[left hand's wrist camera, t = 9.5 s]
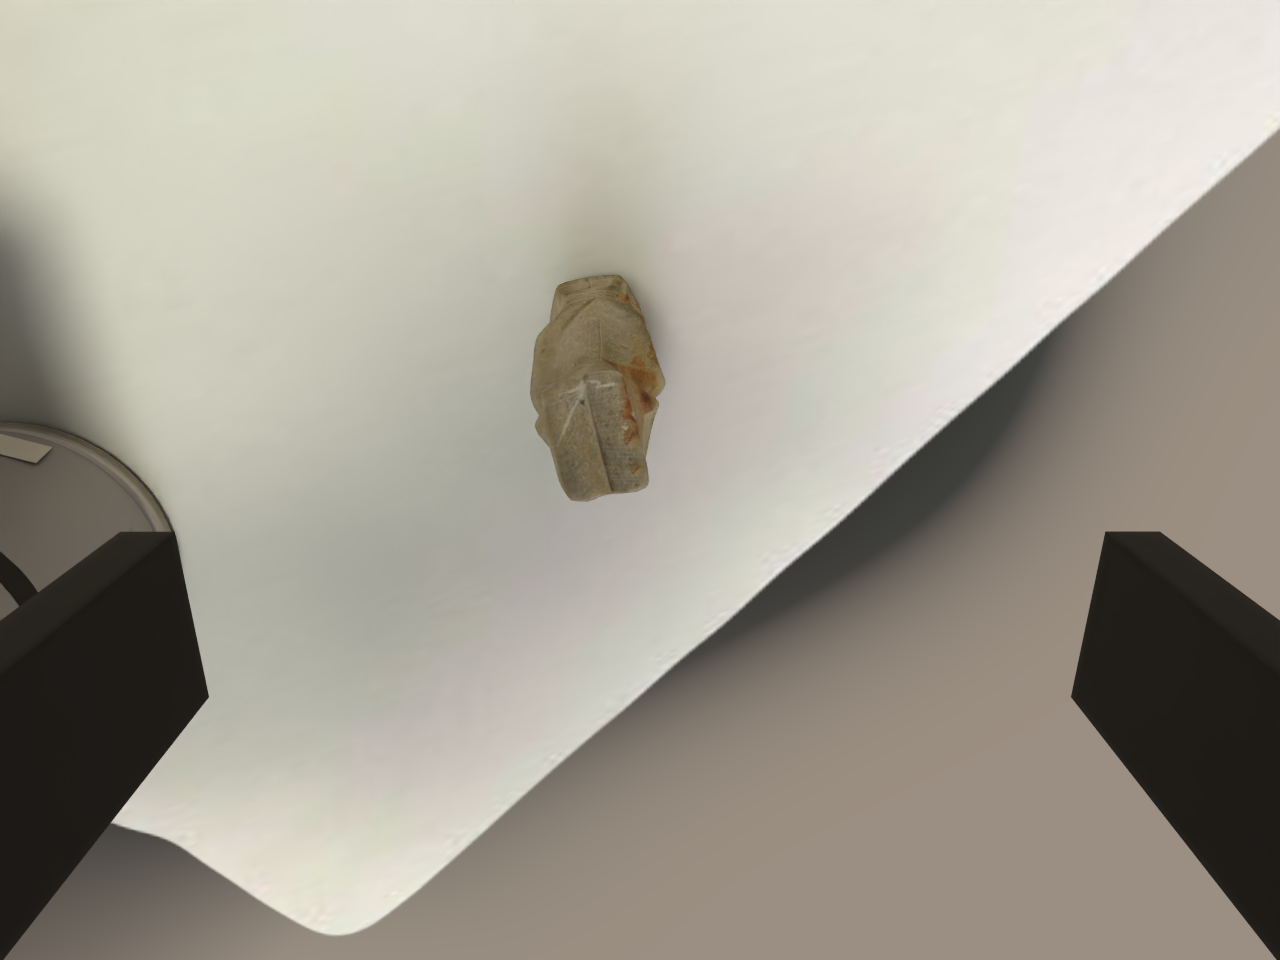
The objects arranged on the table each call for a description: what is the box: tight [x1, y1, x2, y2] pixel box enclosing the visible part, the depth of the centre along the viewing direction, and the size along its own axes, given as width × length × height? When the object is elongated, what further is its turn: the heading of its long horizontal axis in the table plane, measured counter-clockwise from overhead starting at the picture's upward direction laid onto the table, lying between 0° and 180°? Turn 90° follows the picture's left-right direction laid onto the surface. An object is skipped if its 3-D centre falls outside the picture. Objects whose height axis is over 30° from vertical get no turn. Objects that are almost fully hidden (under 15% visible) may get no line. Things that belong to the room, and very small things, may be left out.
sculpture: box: [530, 275, 665, 501], centre depth 39 cm, size 6×7×15 cm
